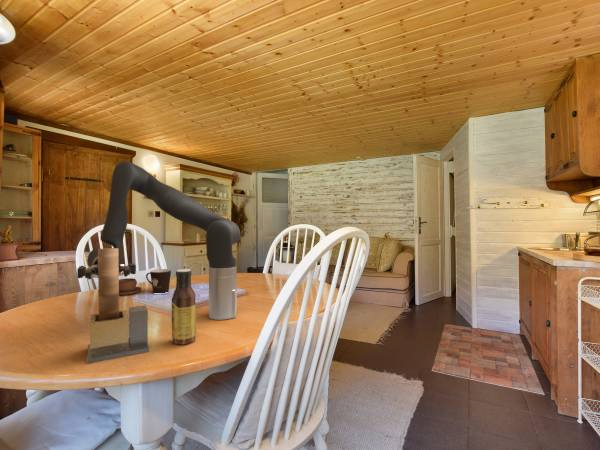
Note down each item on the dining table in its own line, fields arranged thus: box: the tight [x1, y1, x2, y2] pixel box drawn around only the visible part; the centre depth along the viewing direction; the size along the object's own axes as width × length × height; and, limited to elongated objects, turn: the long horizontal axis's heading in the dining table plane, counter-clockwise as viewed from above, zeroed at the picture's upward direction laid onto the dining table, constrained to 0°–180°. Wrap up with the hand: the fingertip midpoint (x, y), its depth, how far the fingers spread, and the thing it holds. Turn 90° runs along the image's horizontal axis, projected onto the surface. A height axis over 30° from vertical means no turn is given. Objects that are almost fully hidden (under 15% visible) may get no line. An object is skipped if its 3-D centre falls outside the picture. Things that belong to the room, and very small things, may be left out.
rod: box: [97, 247, 120, 321], centre depth 80 cm, size 4×4×22 cm
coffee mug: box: [145, 268, 172, 294], centre depth 143 cm, size 12×9×10 cm
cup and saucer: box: [119, 277, 143, 296], centre depth 140 cm, size 12×12×6 cm
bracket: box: [86, 304, 150, 364], centre depth 81 cm, size 10×13×10 cm
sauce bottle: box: [171, 268, 197, 345], centre depth 87 cm, size 7×6×20 cm
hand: (108, 274), depth 86 cm, fingers open, 8 cm apart
